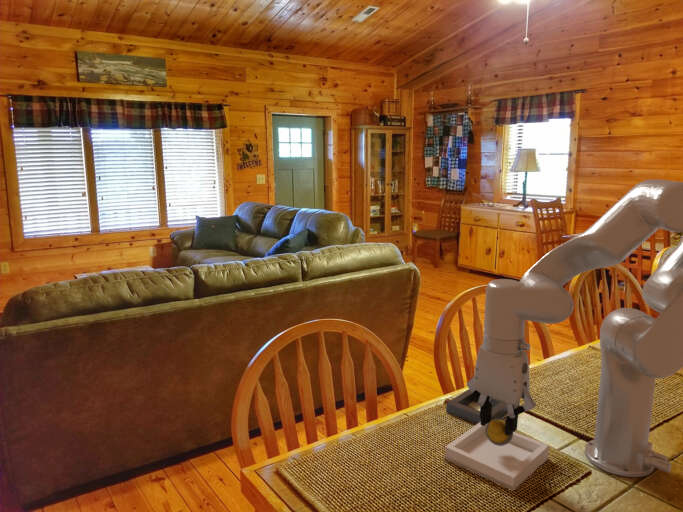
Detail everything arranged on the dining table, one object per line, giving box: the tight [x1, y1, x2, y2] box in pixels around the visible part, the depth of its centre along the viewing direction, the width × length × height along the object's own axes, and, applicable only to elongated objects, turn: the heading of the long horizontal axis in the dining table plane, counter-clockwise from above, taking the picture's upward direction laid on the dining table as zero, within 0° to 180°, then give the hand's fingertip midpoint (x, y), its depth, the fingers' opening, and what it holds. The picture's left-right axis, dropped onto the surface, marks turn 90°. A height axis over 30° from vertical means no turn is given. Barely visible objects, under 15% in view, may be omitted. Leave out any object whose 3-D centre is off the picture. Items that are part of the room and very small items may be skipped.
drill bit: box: [486, 417, 513, 446], centre depth 108 cm, size 5×5×10 cm
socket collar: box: [445, 388, 508, 425], centre depth 129 cm, size 11×11×2 cm
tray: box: [444, 422, 550, 492], centre depth 110 cm, size 15×15×3 cm
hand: (497, 427), depth 108 cm, fingers closed on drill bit, 4 cm apart
